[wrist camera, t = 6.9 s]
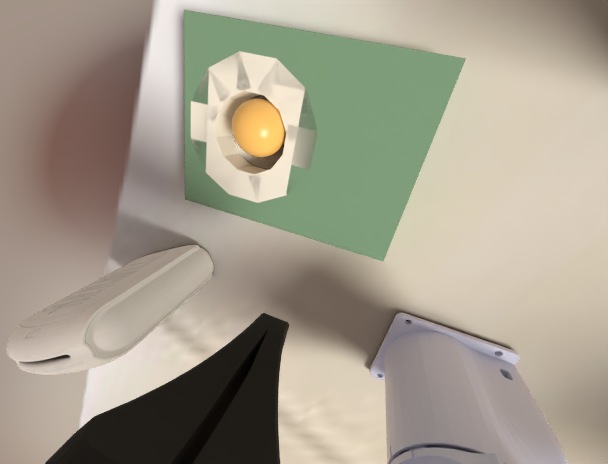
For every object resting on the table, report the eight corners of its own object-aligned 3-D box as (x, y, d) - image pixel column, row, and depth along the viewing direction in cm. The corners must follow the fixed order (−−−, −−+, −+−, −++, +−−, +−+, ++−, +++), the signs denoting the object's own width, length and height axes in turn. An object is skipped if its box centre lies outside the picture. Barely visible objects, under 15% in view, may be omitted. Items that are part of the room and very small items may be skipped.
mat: (453, 68, 14) (465, 58, 12) (382, 247, 19) (383, 261, 17) (206, 23, 17) (184, 9, 15) (202, 192, 22) (184, 199, 20)
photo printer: (152, 289, 29) (11, 389, 18) (132, 256, 27) (-32, 342, 16) (222, 276, 25) (99, 393, 14) (203, 237, 24) (53, 332, 13)
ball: (253, 98, 18) (297, 124, 18) (231, 143, 18) (273, 168, 19) (241, 77, 14) (295, 110, 15) (214, 134, 15) (266, 165, 15)
